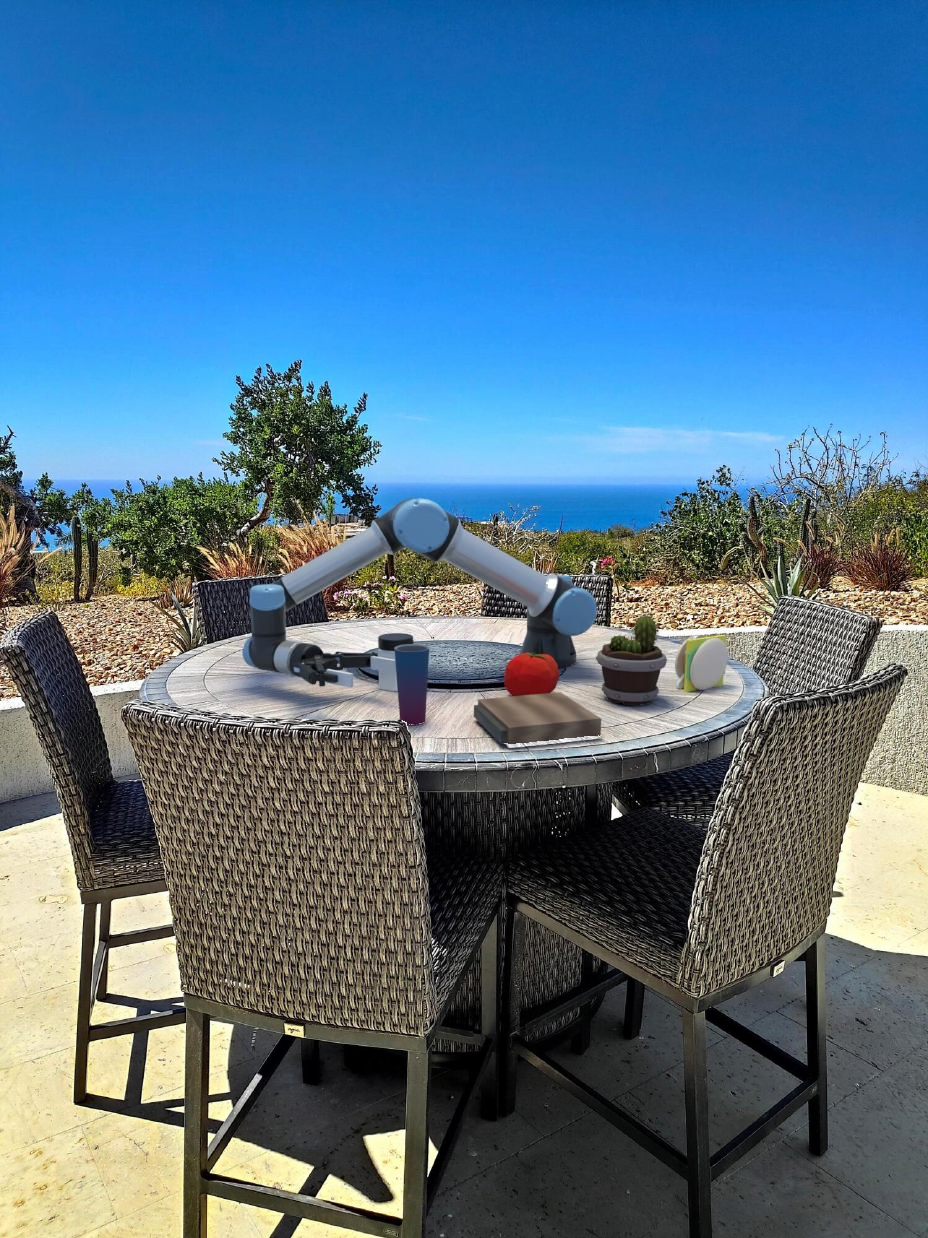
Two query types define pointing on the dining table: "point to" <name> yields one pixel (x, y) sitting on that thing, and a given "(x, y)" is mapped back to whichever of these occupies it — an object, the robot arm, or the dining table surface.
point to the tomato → (531, 674)
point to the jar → (390, 657)
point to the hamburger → (701, 662)
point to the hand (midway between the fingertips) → (374, 673)
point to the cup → (412, 681)
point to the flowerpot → (632, 665)
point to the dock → (536, 718)
